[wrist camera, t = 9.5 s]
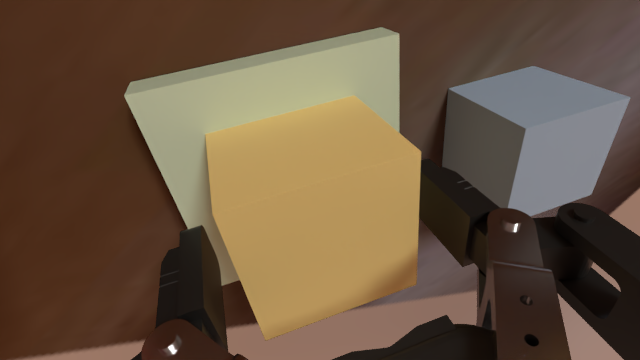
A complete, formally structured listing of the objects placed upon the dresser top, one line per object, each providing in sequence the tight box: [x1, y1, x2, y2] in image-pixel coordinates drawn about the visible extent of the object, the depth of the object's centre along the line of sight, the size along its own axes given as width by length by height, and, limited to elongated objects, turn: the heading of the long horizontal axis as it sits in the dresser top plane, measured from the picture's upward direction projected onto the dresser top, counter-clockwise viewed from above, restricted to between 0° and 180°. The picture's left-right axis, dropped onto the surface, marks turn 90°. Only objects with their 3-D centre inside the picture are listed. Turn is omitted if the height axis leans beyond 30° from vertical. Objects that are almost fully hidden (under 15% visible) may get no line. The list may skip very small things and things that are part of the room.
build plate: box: [124, 27, 399, 286], centre depth 16 cm, size 10×10×2 cm
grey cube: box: [442, 66, 631, 216], centre depth 17 cm, size 5×5×5 cm
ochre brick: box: [205, 95, 421, 340], centre depth 13 cm, size 6×6×5 cm
